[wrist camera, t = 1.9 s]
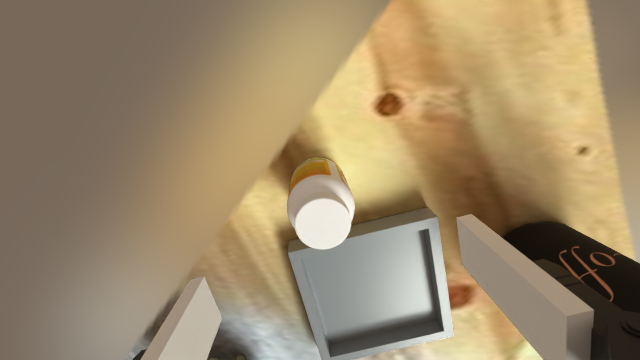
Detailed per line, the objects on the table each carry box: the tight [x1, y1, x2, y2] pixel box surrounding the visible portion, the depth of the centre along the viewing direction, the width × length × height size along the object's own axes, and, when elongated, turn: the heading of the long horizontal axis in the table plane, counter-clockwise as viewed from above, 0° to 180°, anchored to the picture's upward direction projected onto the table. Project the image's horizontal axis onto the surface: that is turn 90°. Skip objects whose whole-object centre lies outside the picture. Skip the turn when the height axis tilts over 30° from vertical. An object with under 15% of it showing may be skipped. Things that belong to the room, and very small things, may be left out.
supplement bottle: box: [287, 158, 355, 249], centre depth 25 cm, size 5×5×10 cm
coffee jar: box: [503, 222, 640, 313], centre depth 25 cm, size 11×11×18 cm
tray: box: [288, 207, 454, 360], centre depth 32 cm, size 15×15×2 cm
